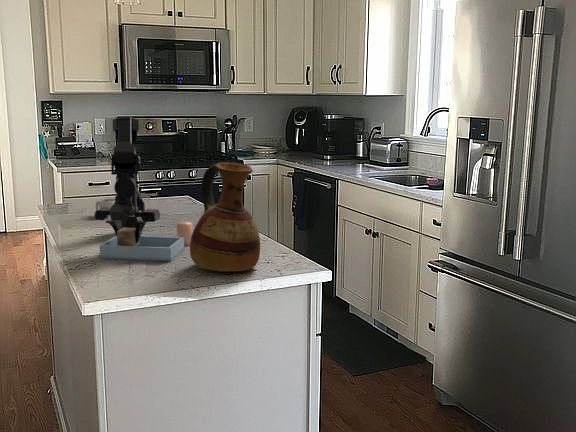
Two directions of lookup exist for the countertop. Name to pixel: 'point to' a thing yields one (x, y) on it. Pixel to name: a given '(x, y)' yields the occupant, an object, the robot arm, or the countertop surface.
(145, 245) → the tote
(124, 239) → the walnut block
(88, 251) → the countertop surface
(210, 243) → the ceramic pitcher
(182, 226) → the brown egg
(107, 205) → the mug
